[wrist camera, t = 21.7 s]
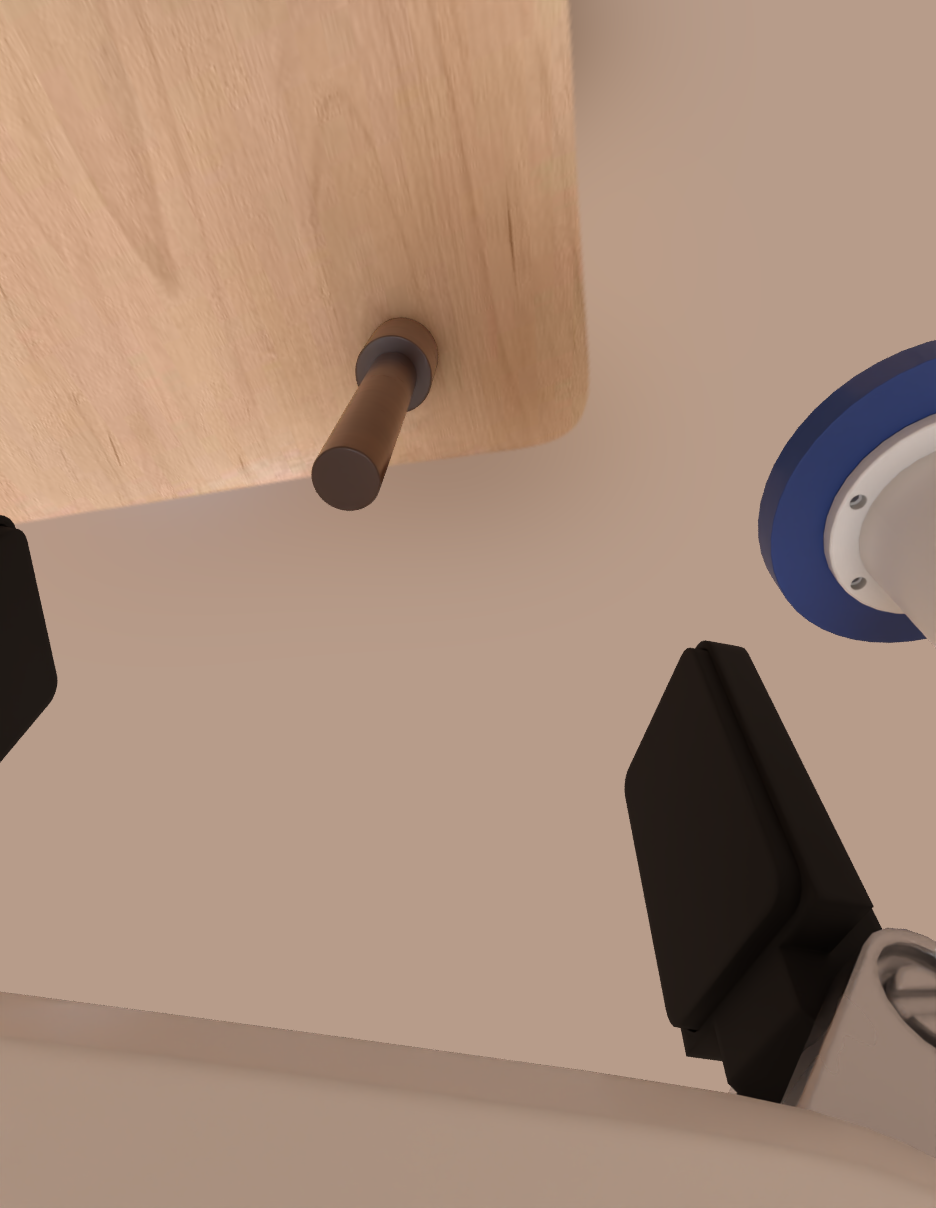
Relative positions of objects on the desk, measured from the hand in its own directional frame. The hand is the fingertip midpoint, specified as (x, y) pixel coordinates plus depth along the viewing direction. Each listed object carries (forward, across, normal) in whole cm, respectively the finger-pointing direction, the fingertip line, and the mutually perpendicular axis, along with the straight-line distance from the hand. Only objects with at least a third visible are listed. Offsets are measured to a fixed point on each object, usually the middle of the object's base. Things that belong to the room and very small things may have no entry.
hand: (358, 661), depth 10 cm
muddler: (+28, +2, +3) cm, 28 cm away
